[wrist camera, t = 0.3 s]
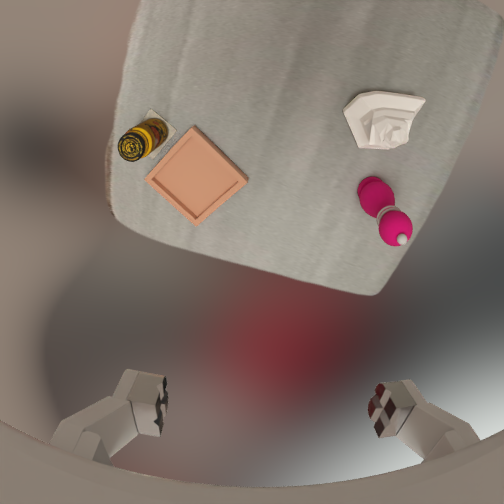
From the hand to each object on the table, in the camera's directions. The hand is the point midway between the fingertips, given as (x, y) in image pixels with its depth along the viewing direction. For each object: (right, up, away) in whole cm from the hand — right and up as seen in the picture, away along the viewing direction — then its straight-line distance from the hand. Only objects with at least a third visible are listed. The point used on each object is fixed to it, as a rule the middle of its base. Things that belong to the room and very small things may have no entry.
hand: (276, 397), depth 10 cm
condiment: (-21, +29, +45) cm, 57 cm away
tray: (-12, +21, +49) cm, 55 cm away
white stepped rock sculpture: (+23, +31, +39) cm, 55 cm away
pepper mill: (+24, +19, +48) cm, 57 cm away
